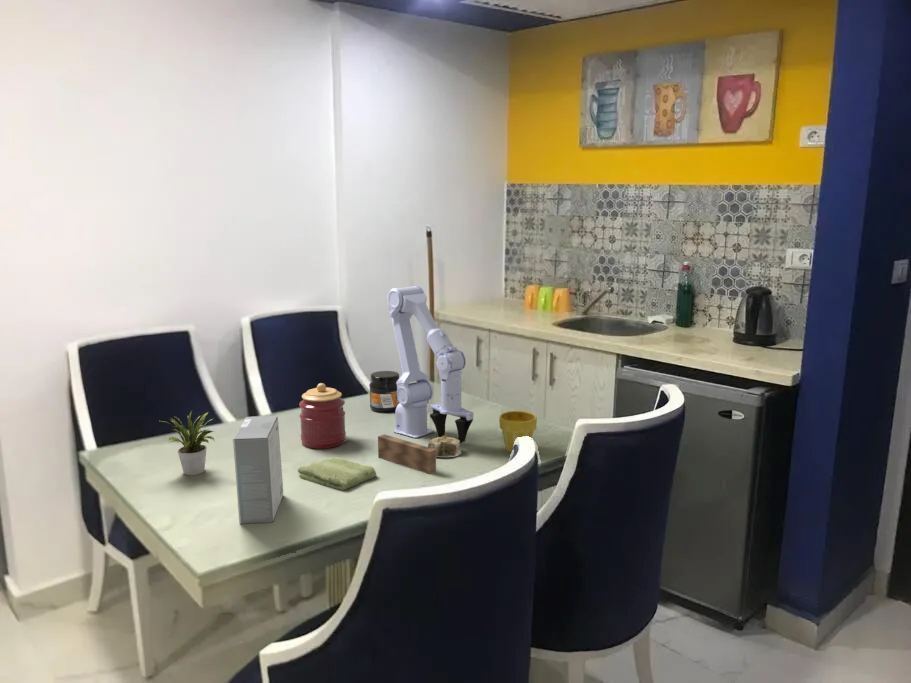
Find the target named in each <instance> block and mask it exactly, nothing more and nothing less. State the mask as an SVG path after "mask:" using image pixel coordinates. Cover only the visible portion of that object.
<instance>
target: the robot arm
mask: <svg viewBox="0 0 911 683" xmlns="http://www.w3.org/2000/svg"><path fill="white" fill-rule="evenodd" d="M427 298H428V296H427V294H425V291H424V290H423V288H422V287H421V286H420V285H414V286H407V287H406V286H405V287H398V288H397V287H393V288H391V289H390V290H389V292H388V294H387V296H386V302H387V307H388V311H389V316H390V320H391V324H392V329H393V334H394V338H395V344H396V349H397V353H398V358H399V362H400V363H399V364H400V367H401V368H400V369H401V373H402V374H401V375H400V376H399V380H398V381H397V382H396V383H397V398H398V401H399V402H400V403H399V404H398V405H397V407H396V411H394V412H395V413H394V414H395V416H394V417H395V429H394V430H393V433H396V434H400V435H404V436H407V437H411V438H414V439H418V438H420V437H423V436H426V435H428V434H431V433H434V429H430V428H428V404H429V411H430V412H431V413H430V414H429V418H430V419H431V420H432V422H433V424H434V426H435V430H436V433H437V437H442V436H444V435H446V422H447V416H448V415H449V416H453V417H457V419H455V420H454V423H455V425H456V429H457V439H458V440H459V441H460V444H463V443H465V442H466V438H467V434H468V430H469V429H470V427H471V424H472V423H473V421H474V412H473V411H470V410H469V409H468V410H467V409H466V408H463V406H462V370H464V368H465V367H466V356H465V355H464V352H463V351H462V350H461V349H458V348H457V347H456V346H454V345H453V343H452V341H451V340H450V338H449V337H448V334H447V333H446V331H445V329H442V328H439V327H438V326H437V323H436V321H435V319H434V317H433V314H432V313H431V312H430V311H431V310H430V309H429V307H428V305H427ZM412 316H414V317H415V319H416V320H417V321H418V323H419V324H420V326H421V327H422V329H423V330H424V331H425V333H426V334H427V335H426V342H427V344H428V345H429V347H430V349H431V350H432V352H433V355H434V356H435V357H436V359H437V361H436V362H435V365H436V368H437V370H438V376H439V378H440V402H441V403H435V402H433V403H431V404H430V400H431V399H432V398H433V395H434V391H433V387H432V386H433V385H432V384H431V382H430V380H429V376H428V375H427V374H426V373H424V372H422V371H421V367H420V363H419V358H418V353H417V349H416V344H415V339H414V334H413V328H412V324H411V318H412ZM411 382H412V383H411ZM444 437H445V436H444Z"/></svg>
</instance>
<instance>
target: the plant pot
mask: <svg viewBox="0 0 911 683" xmlns="http://www.w3.org/2000/svg"><path fill="white" fill-rule="evenodd" d="M537 420H538V417H537V414H534V413H532V412H528V411H526V410H525V411H523V410H510V411H505V412H503V413H501V414H500V415H499V422H498V423H499V429H500V430H501V432H502V437H503V442H504V445H505V446H504V447H505V450H506V451H507V452H509V453H513V452H512V450H513V444H514V441H515V439H516V438H517V437H522V436H529V437H531V438H533V436H534V432H535V430H536V429H537V422H538V421H537Z"/></svg>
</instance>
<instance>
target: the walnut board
mask: <svg viewBox="0 0 911 683" xmlns="http://www.w3.org/2000/svg"><path fill="white" fill-rule="evenodd" d="M377 451H378V453H377V454H378V456H377V457H378V458H379V459H383V460H386V461H389V462H390V463H391V462H392V463H395V464H398V465H401V466H404V467H407V468H410V469H413V470H415V471H420V472H423V473H426V474H429V475H431V474H434V473H435V472H437V457H436V449H433V448H429V447H428V446H426V445H421V444H419V443H415V442H413V441H408V440H405V439H401V438H398V437H394V436H392V435H388V434H386V433H384V434H381V435H378V436H377Z"/></svg>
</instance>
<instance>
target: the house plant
mask: <svg viewBox="0 0 911 683" xmlns="http://www.w3.org/2000/svg"><path fill="white" fill-rule="evenodd" d="M192 412H193V410H190V412H189V415H187V423H188V429H187V428H186V427H185V426H184V424H183V422H182V421H181V419H180V418H179V417H177V416H175V418H176V419H177V420H178V421H179V422H177V421H176V419H173V418H171V419H170V421H171V422H172V423H173V424H174V425H175V426H173V428H175V429H172V430H173V431H175V432H176V433H177V434H178V435H179V436H180V438H181V440H180V438H177V437H175V436H170V437H168V438H167V439H166V441H169V443H173V442H176V443H177V444H178V443H181V444H182V445H183V446H181V447H179V448H178V449H177V454H178V457H179V461H180V465H181V467H182V472H183V475H187V476H196V475H200V474H203V472H205V471H206V470H205V469H206V467H205V466H206V458H207V449H208V447H207V446H206V445H205V444H202V443H207V444H210V443H209V439H210V440H212V441H214V442H216V441H215V438H214V436H211V435H209V436H208V434H211V433H215V431H214V430H211V429H210V428H207V429H203V427H205V424H203V423H204V422H205V419H206V416H207V415H208V413H209V411H208V412H206V413H204V414H203V415H202V414H200V415H199V416H198V417H197V418H196V419H195V420H194V422H192V419H191V418H192ZM199 418H200V419H199ZM198 419H199V420H198ZM212 420H213V418H212V419H209V420H208V421H207V423H209V422H211V421H212ZM197 421H198V422H197ZM160 422H163V423H167V424H169V422H168V421H163V420H160ZM196 422H197V423H196ZM179 423H180V424H181V425H180V424H179ZM195 424H196V425H195ZM176 428H177V429H176ZM202 429H203V430H202Z"/></svg>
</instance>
